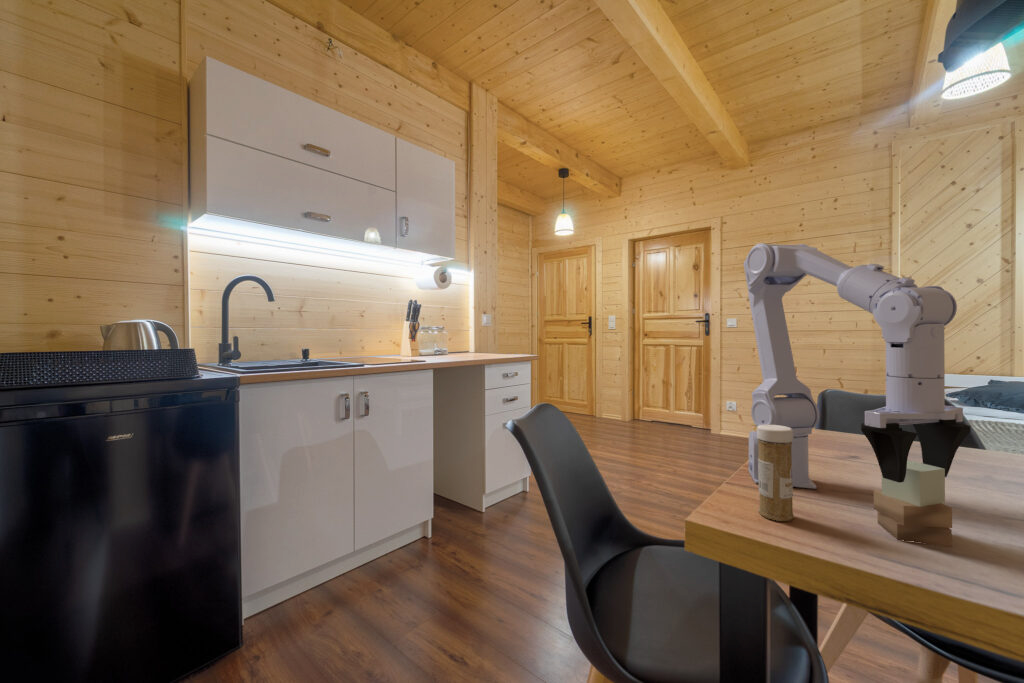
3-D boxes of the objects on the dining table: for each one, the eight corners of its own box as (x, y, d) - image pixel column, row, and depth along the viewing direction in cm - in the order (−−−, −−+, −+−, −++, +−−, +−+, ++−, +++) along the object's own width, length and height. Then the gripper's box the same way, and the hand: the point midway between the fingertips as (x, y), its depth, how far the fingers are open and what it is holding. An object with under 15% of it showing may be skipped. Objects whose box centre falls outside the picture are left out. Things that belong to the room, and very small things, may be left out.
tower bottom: (897, 543, 55) (897, 524, 55) (877, 525, 60) (877, 507, 60) (951, 550, 53) (951, 529, 53) (926, 531, 59) (926, 512, 59)
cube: (920, 506, 54) (920, 471, 54) (881, 494, 59) (881, 461, 59) (944, 502, 55) (944, 468, 55) (905, 490, 60) (905, 459, 60)
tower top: (903, 525, 55) (903, 505, 55) (873, 508, 60) (873, 490, 60) (952, 528, 54) (952, 507, 54) (917, 510, 59) (917, 492, 59)
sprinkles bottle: (798, 524, 60) (797, 430, 60) (762, 520, 62) (761, 429, 62) (788, 511, 65) (787, 424, 65) (754, 508, 66) (753, 422, 66)
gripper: (906, 381, 51) (907, 493, 51) (992, 377, 54) (993, 482, 54) (848, 376, 58) (849, 474, 58) (927, 373, 61) (928, 466, 61)
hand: (914, 477), depth 57 cm, fingers open, 7 cm apart
